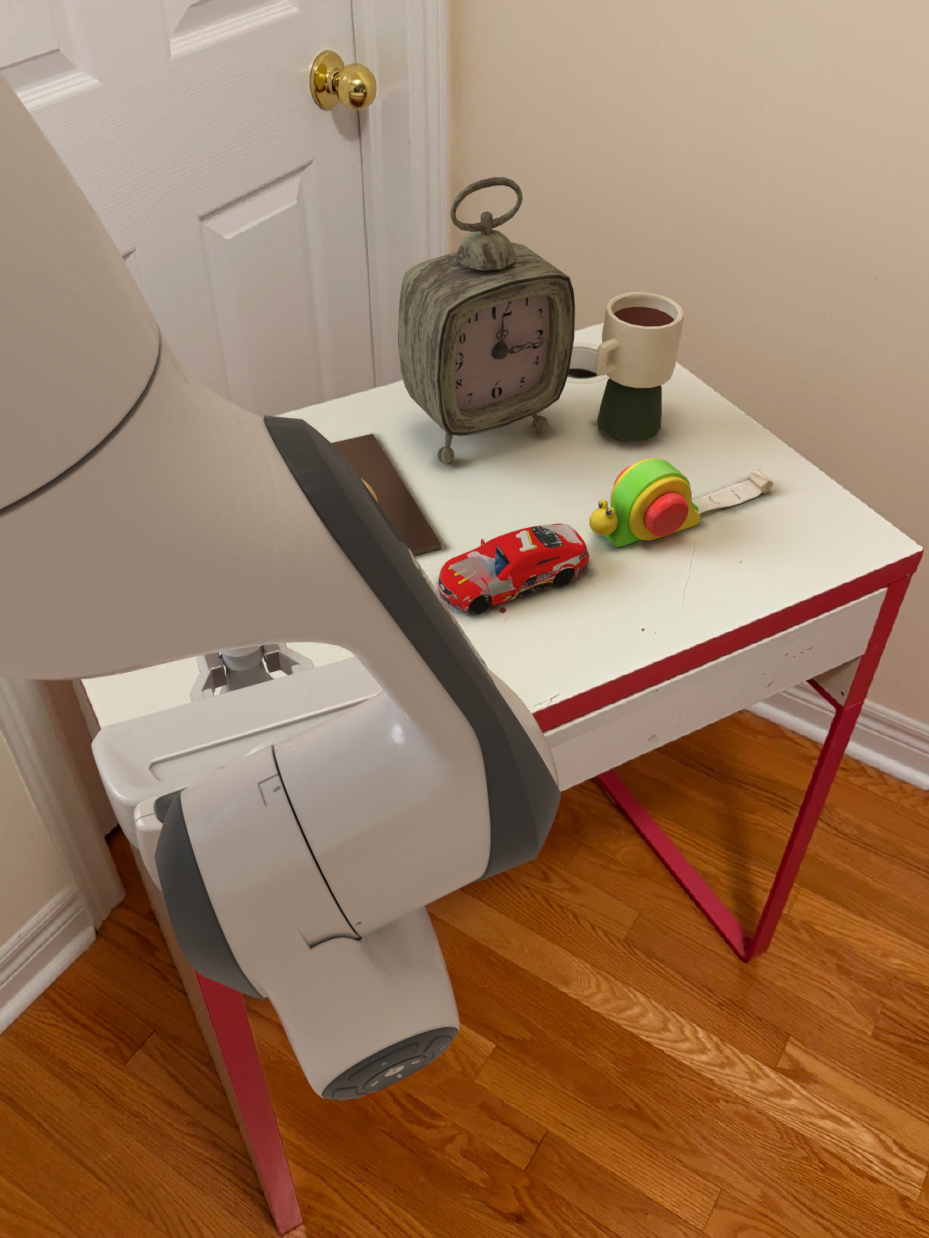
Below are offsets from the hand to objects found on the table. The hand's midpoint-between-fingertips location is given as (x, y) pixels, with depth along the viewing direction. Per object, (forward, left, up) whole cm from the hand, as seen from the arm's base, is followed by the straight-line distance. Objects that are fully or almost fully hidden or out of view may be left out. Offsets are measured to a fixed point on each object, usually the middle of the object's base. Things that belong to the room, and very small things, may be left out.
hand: (239, 651), depth 69 cm
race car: (+24, +9, -10) cm, 28 cm away
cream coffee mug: (+44, +25, -10) cm, 52 cm away
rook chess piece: (0, -1, -5) cm, 5 cm away
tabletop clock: (+30, +30, -10) cm, 44 cm away
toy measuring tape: (+42, +11, -10) cm, 44 cm away
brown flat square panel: (+11, +24, -9) cm, 28 cm away
